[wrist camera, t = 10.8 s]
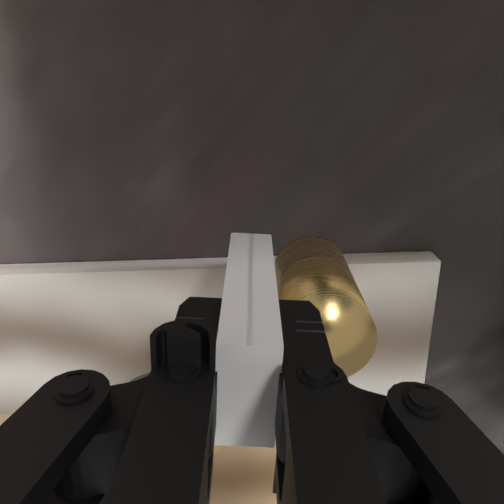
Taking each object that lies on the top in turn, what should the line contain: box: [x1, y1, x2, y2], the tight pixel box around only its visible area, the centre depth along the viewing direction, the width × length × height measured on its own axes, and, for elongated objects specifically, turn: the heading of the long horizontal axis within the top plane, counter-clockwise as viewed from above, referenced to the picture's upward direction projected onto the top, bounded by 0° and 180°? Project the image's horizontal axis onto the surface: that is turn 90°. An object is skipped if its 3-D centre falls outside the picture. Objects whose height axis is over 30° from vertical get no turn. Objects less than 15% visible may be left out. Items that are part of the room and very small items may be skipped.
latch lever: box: [214, 237, 378, 453], centre depth 17 cm, size 15×4×5 cm, turn 142°
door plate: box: [0, 251, 441, 504], centre depth 21 cm, size 16×26×6 cm, turn 92°
